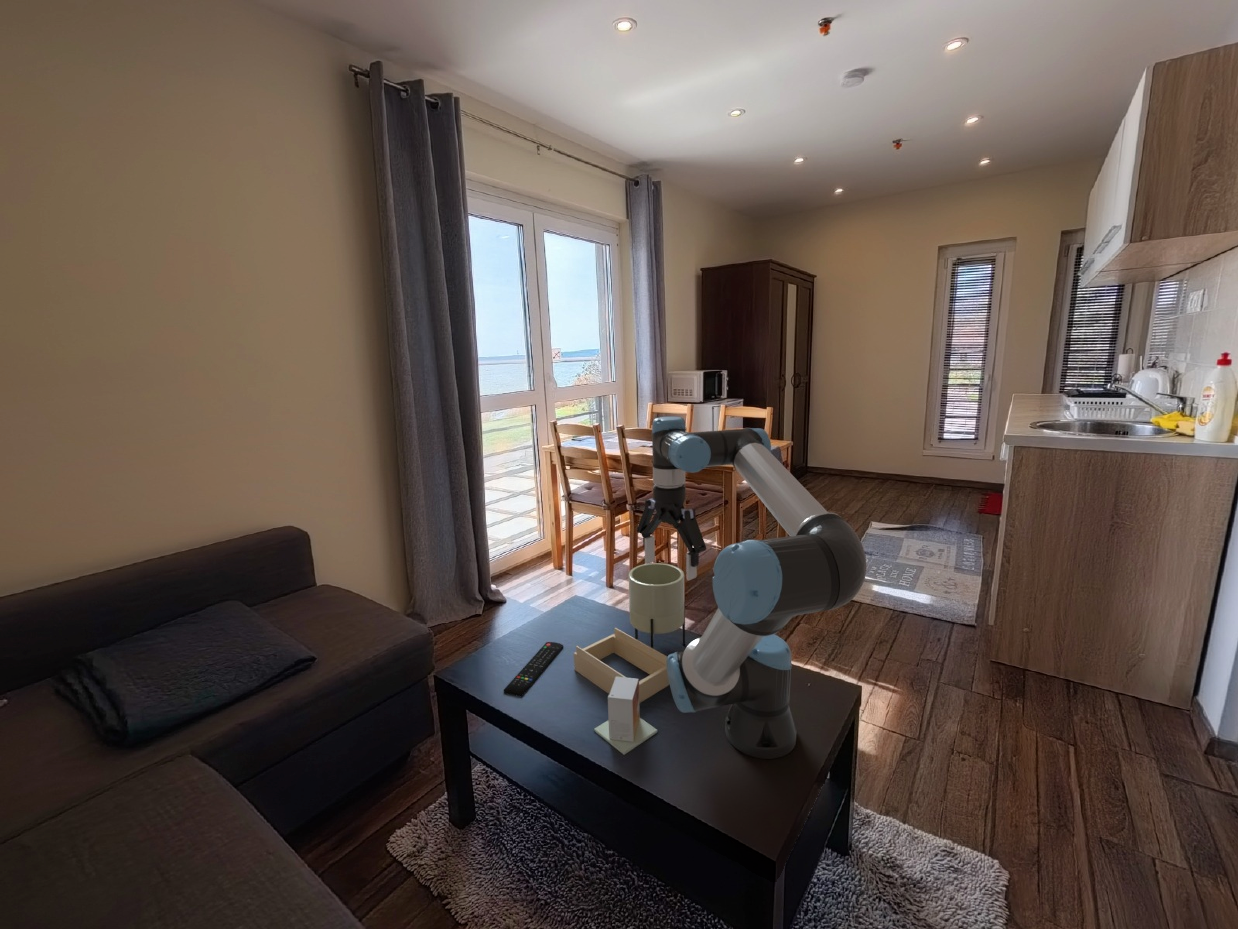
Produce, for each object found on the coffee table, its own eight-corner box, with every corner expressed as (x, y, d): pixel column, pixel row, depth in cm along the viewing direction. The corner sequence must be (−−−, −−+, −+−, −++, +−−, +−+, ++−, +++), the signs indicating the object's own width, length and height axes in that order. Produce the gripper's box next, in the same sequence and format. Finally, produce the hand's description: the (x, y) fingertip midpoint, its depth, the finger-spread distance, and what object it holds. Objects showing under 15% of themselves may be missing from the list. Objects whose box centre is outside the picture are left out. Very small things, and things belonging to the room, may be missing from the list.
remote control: (503, 694, 137) (503, 689, 137) (547, 645, 159) (547, 641, 159) (522, 698, 135) (521, 694, 135) (564, 648, 157) (564, 644, 157)
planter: (652, 629, 165) (651, 558, 160) (695, 648, 155) (695, 572, 150) (617, 649, 155) (615, 574, 150) (660, 671, 144) (659, 591, 139)
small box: (633, 743, 118) (632, 700, 115) (608, 740, 119) (607, 697, 117) (640, 718, 125) (639, 678, 123) (616, 715, 127) (615, 675, 124)
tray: (670, 684, 139) (670, 657, 137) (630, 709, 130) (629, 681, 128) (614, 649, 155) (613, 626, 153) (574, 669, 146) (573, 644, 144)
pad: (657, 732, 122) (657, 729, 122) (624, 755, 115) (623, 752, 115) (627, 710, 129) (627, 708, 129) (594, 731, 123) (594, 728, 123)
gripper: (722, 490, 119) (721, 580, 124) (643, 472, 137) (644, 551, 142) (700, 497, 114) (699, 591, 119) (621, 478, 133) (623, 559, 137)
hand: (669, 570), depth 130 cm, fingers open, 13 cm apart
